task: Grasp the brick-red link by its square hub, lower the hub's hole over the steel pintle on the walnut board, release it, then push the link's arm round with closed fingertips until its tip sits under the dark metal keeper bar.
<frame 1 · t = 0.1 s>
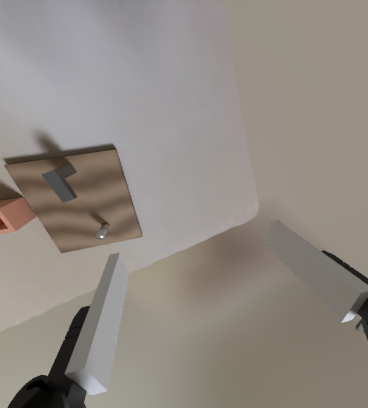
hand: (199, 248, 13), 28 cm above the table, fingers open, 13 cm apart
keeper: (77, 176, 35), resting on board
board: (87, 205, 38), on the table
pintle: (107, 222, 41), resting on board
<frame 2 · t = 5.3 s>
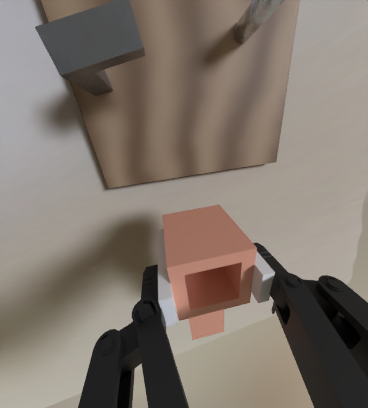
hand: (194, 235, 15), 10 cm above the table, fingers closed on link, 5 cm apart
keeper: (119, 77, 16), resting on board
board: (186, 78, 17), on the table
link: (200, 301, 20), point 9 cm above the table, touching gripper
pintle: (236, 38, 16), resting on board
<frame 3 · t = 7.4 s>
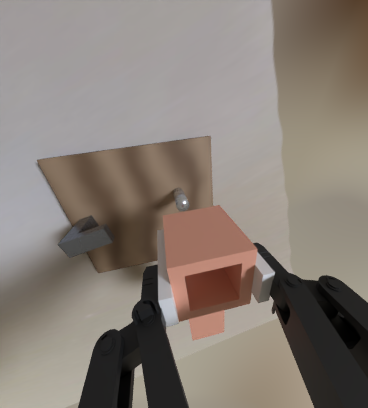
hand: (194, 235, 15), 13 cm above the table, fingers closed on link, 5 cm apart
keeper: (103, 215, 26), resting on board
board: (146, 211, 27), on the table
link: (201, 301, 20), point 13 cm above the table, touching gripper
pintle: (177, 190, 26), resting on board
when the fingers open (2 cm above the table, at t = 9.5 s): link stays where it is, resting on board.
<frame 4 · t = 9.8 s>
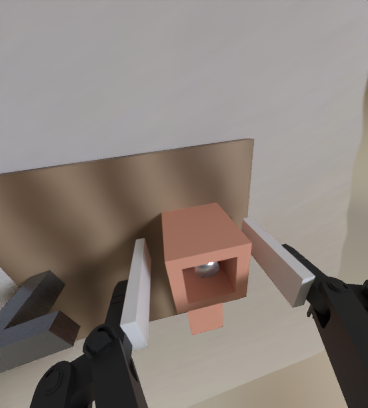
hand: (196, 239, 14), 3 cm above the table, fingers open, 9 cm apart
keeper: (73, 264, 16), resting on board
board: (142, 255, 17), on the table
link: (200, 297, 21), point 1 cm above the table, touching board
pintle: (190, 224, 17), resting on board
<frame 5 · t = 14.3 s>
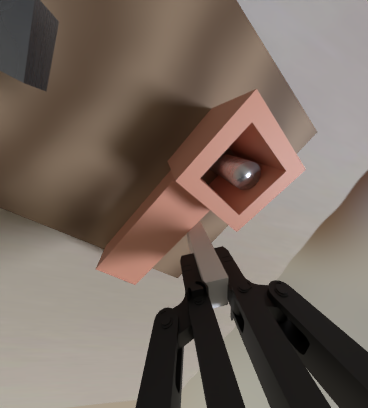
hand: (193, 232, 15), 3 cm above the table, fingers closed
keeper: (57, 68, 10), resting on board
board: (144, 146, 13), on the table
link: (133, 241, 16), point 1 cm above the table, touching gripper
pintle: (213, 160, 15), resting on board
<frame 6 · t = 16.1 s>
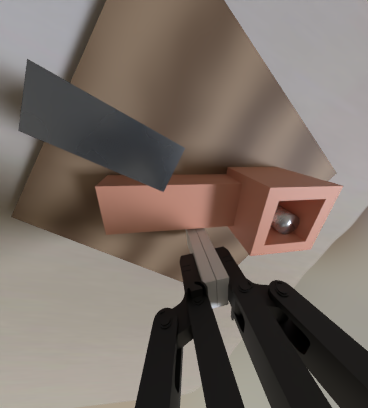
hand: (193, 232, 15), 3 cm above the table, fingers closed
keeper: (133, 135, 13), resting on board
board: (192, 188, 16), on the table
link: (134, 196, 14), point 1 cm above the table, touching board
pintle: (247, 195, 17), resting on board
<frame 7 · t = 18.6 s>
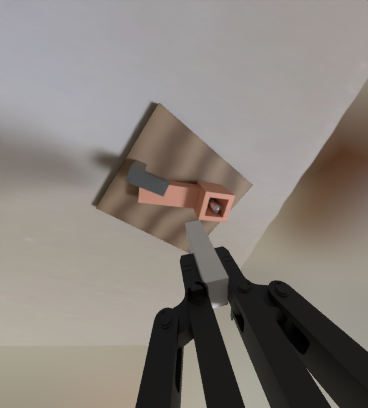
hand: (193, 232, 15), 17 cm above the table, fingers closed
keeper: (150, 171, 29), resting on board
board: (178, 193, 32), on the table
link: (151, 188, 29), point 1 cm above the table, touching board
pintle: (207, 197, 33), resting on board
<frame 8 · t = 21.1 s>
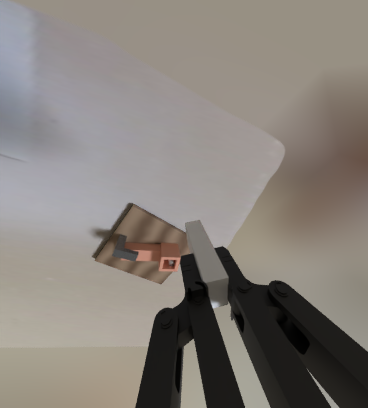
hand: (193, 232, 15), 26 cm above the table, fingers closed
keeper: (129, 237, 45), resting on board
board: (149, 248, 48), on the table
link: (130, 247, 45), point 1 cm above the table, touching board
pintle: (170, 249, 50), resting on board
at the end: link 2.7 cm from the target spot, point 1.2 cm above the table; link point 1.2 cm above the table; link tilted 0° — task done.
